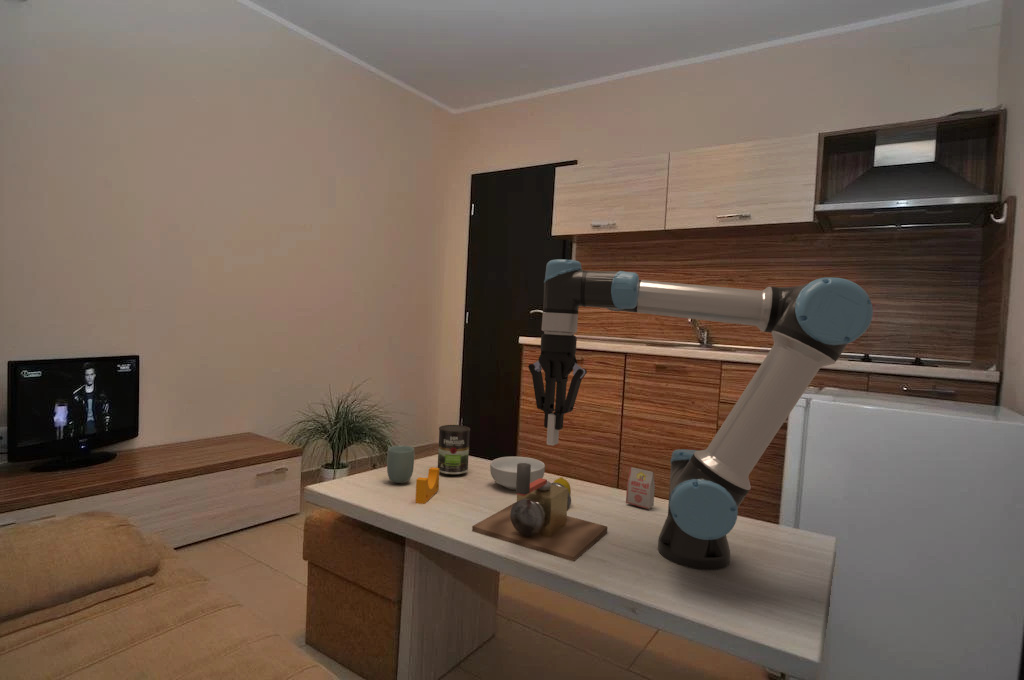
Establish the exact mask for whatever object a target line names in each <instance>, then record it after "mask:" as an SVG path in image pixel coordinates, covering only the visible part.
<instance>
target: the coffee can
mask: <svg viewBox="0 0 1024 680" xmlns="http://www.w3.org/2000/svg"><path fill="white" fill-rule="evenodd" d="M470 435H471V428H470V427H468V426H466V425H461V424H446V425H445V424H444V425H441V426H439V427H438V449H437V451H438V453H437V467H436V468H440V469H439V473H440V474H445V475H461V474H465V473H468V471H469V453H470V438H471V437H470Z"/></svg>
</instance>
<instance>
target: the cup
mask: <svg viewBox="0 0 1024 680" xmlns="http://www.w3.org/2000/svg"><path fill="white" fill-rule="evenodd" d="M386 455H387V456H386V458H387V459H386V469H387V470H386V472H387V473H386V474H387V477H388V479H389V481H391V482H392V483H394V484H395V483H396V484H403V483H406V482H408V481H410V480H411V478H412V476H413V473H414V465H415V448H414V447H413V446H410V445H402V444H401V445H400V444H399V445H393V446H390V447H388V448H387V453H386Z"/></svg>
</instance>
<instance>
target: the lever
mask: <svg viewBox="0 0 1024 680" xmlns="http://www.w3.org/2000/svg"><path fill="white" fill-rule="evenodd" d="M530 472H531V465H530V464H527V463H519V464H517V480H516V490H515V492H516V496H517V495H521V496H525V495H527V494H529V493H531V492H532V491H534V490H536V489H538V490H550V489H551V483H552V482H551V481H548V480H547V479H546V478H539V479H537V480H535V481H533V482H531V483H530Z"/></svg>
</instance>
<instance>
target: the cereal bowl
mask: <svg viewBox="0 0 1024 680" xmlns="http://www.w3.org/2000/svg"><path fill="white" fill-rule="evenodd" d="M519 463H527V464H530V465H531V472H530V483H531V482H533V481H535V480H537V479H539V478H542V479H544V475H545V471H546V469H545V468H546V465H545V463H544V462H543V461H541V460H539V459H536V458H532V457H526V456H501V457H498V458H495V459H493V460H491V461H490V466H489V467H490V468H489V469H490V475H491V478H492V479H493V480H494V482H496V484H498V485H501V486H503V487H504V488H506V489H508V490H513V491H516V480H517V464H519Z"/></svg>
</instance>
